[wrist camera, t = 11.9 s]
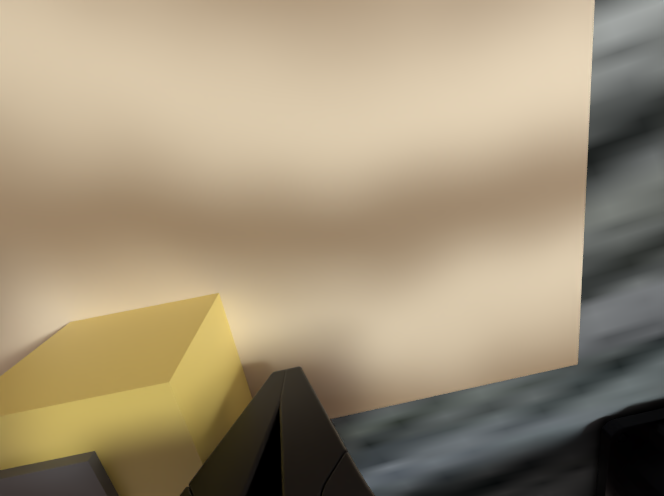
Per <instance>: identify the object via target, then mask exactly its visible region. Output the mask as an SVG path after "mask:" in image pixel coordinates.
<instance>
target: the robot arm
mask: <svg viewBox="0 0 664 496" xmlns="http://www.w3.org/2000/svg"><path fill="white" fill-rule="evenodd" d="M180 496H375V495H374V493H373V492H372V491H371V489H370V488H369V486H368V485H367V483H366V482H365V480H364V478H363V477H362V475H361V473H360V472H359V470H358V468H357V467H356V465H355V463H354V461H353V460H352V458H351V456H350V454H349V453H348V451H347V449H346V447H345V445H344V444H343V442H342V440H341V438H340V436H339V435H338V433H337V431H336V429H335V427H334V426H333V424H332V422H331V420H330V418H329V416H328V415H327V413H326V411H325V409H324V407H323V406H322V404H321V402H320V400H319V398H318V397H317V395H316V393H315V391H314V389H313V387H312V386H311V384H310V382H309V380H308V378H307V377H306V375H305V373H304V371H303V369H302V368H301V367H300V366H298V367H293V368H289V369H284V370H279V371H275V372H273V373H272V374H271V375H270V376H269V377H268V379H267V380H266V381H265V383H264V384H263V385H262V387H261V388H260V389H259V391H258V392H257V393H256V395H255V396H254V397H253V399H252V400H251V401H250V403H249V404H248V405H247V407H246V408H245V409H244V411H243V412H242V413H241V415H240V416H239V417H238V419H237V420H236V421H235V423H234V424H233V425H232V427H231V428H230V429H229V431H228V432H227V433H226V435H225V436H224V437H223V439H222V440H221V441H220V443H219V444H218V445H217V447H216V448H215V449H214V451H213V452H212V453H211V455H210V456H209V457H208V459H207V460H206V461H205V463H204V464H203V465H202V467H201V468H200V469H199V471H198V472H197V473H196V475H195V476H194V477H193V479H192V480H191V481H190V483H189V487H186V488H185V489H184V490H183V492H182V493H181V494H180ZM596 496H664V408H661V409H657V410H652V411H648V412H644V413H639V414H635V415H630V416H626V417H621V418H617V419H613V420H611V421H609V422H607V423H606V424H605V425H604V427H603V428H602V431H601V441H600V454H599V466H598V479H597V492H596Z"/></svg>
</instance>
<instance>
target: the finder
mask: <svg viewBox="0 0 664 496" xmlns="http://www.w3.org/2000/svg"><path fill="white" fill-rule="evenodd" d="M251 400H252V396H251V393H250V390H249V386H248V383H247V380H246V377H245V374H244V371H243V367H242V364H241V361H240V358H239V355H238V351H237V348H236V345H235V342H234V339H233V336H232V332H231V329H230V326H229V323H228V320H227V317H226V313H225V310H224V307H223V304H222V301H221V298H220V294H219V293H216V294H210V295H205V296H200V297H195V298H190V299H185V300H180V301H175V302H170V303H164V304H159V305H154V306H149V307H144V308H139V309H134V310H129V311H124V312H119V313H113V314H108V315H103V316H98V317H93V318H88V319H83V320H78V321H73V322H70V323H68V324H67V325H66V326H65V327H63V328H62V329H61V330H59V331H58V332H57V333H56V334H54V335H53V336H52V337H50V338H49V339H48V340H47V341H45V342H44V343H43V344H41V345H40V346H39V347H37V348H36V349H35V350H34V351H32V352H31V353H30V354H28V355H27V356H26V357H25V358H23V359H22V360H21V361H19V362H18V363H17V364H16V365H14V366H13V367H12V368H10V369H9V370H8V371H6V372H5V373H4V374H3V375H1V376H0V496H180V494H181V493H182V492H183V490H184V489H185V488H186V487H189V483H190V481H191V480H192V479H193V477H194V476H195V475H196V473H197V472H198V471H199V469H200V468H201V467H202V465H203V464H204V463H205V461H206V460H207V459H208V457H209V456H210V455H211V453H212V452H213V451H214V449H215V448H216V447H217V445H218V444H219V443H220V441H221V440H222V439H223V437H224V436H225V435H226V433H227V432H228V431H229V429H230V428H231V427H232V425H233V424H234V423H235V421H236V420H237V419H238V417H239V416H240V415H241V413H242V412H243V411H244V409H245V408H246V407H247V405H248V404H249V403H250V401H251Z"/></svg>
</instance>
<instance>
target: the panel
mask: <svg viewBox="0 0 664 496" xmlns="http://www.w3.org/2000/svg"><path fill="white" fill-rule="evenodd" d="M594 3H595V0H0V376H1V375H3V374H4V373H5V372H6V371H8V370H9V369H10V368H12V367H13V366H14V365H16V364H17V363H18V362H19V361H21V360H22V359H23V358H25V357H26V356H27V355H28V354H30V353H31V352H32V351H34V350H35V349H36V348H37V347H39V346H40V345H41V344H43V343H44V342H45V341H47V340H48V339H49V338H50V337H52V336H53V335H54V334H56V333H57V332H58V331H59V330H61V329H62V328H63V327H65V326H66V325H67V324H68V323H70V322H73V321H78V320H83V319H88V318H93V317H98V316H103V315H108V314H113V313H119V312H124V311H129V310H134V309H139V308H144V307H149V306H154V305H159V304H164V303H170V302H175V301H180V300H185V299H190V298H195V297H200V296H205V295H210V294H216V293H219V294H220V298H221V301H222V304H223V307H224V310H225V313H226V317H227V320H228V323H229V326H230V329H231V332H232V336H233V339H234V342H235V345H236V348H237V351H238V355H239V358H240V361H241V364H242V367H243V371H244V374H245V377H246V380H247V383H248V386H249V390H250V393H251V396H252V399H253V397H254V396H255V395H256V393H257V392H258V391H259V389H260V388H261V387H262V385H263V384H264V383H265V381H266V380H267V379H268V377H269V376H270V375H271V374H272V373H273V372H275V371H279V370H284V369H289V368H293V367H298V366H300V367H301V368H302V369H303V371H304V373H305V375H306V377H307V378H308V380H309V382H310V384H311V386H312V387H313V389H314V391H315V393H316V395H317V397H318V398H319V400H320V402H321V404H322V406H323V407H324V409H325V411H326V413H327V415H328V416H329V418H330V419H333V418H337V417H342V416H346V415H351V414H355V413H360V412H364V411H369V410H373V409H378V408H382V407H387V406H391V405H396V404H400V403H405V402H409V401H414V400H418V399H423V398H427V397H432V396H436V395H441V394H445V393H450V392H454V391H459V390H464V389H468V388H473V387H477V386H482V385H486V384H491V383H495V382H500V381H504V380H509V379H513V378H518V377H522V376H527V375H531V374H536V373H540V372H545V371H549V370H554V369H558V368H563V367H567V366H572V365H576V364H578V349H579V327H580V305H581V284H582V262H583V241H584V219H585V198H586V176H587V154H588V133H589V111H590V90H591V68H592V46H593V25H594Z"/></svg>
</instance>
